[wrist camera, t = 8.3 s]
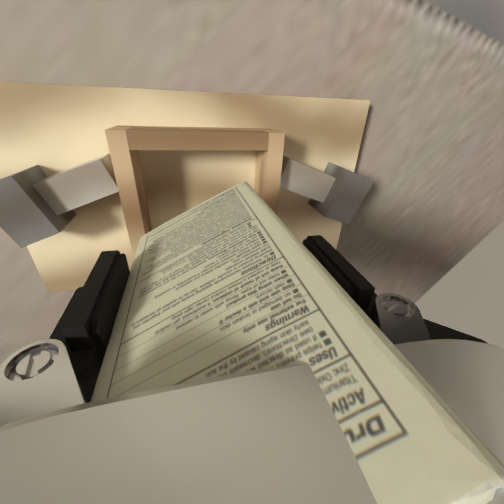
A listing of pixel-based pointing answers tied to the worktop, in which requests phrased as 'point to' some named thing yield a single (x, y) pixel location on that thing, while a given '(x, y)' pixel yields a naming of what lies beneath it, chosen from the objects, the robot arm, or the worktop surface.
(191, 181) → the board
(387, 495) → the skincare box
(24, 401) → the robot arm
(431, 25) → the worktop surface
